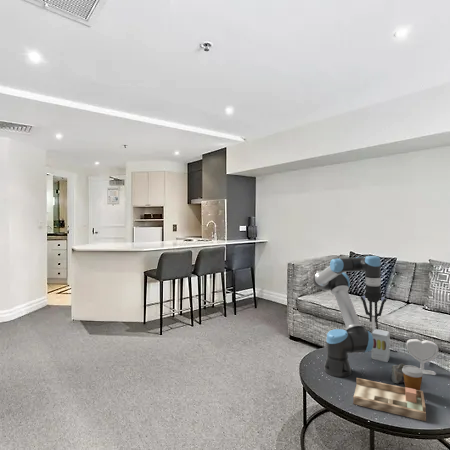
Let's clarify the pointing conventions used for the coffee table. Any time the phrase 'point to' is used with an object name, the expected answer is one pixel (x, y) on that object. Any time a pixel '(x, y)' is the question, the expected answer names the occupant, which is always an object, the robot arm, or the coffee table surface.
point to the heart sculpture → (422, 352)
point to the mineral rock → (397, 374)
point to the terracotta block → (410, 394)
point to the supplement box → (381, 345)
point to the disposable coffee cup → (412, 376)
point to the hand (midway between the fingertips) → (373, 328)
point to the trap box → (388, 399)
